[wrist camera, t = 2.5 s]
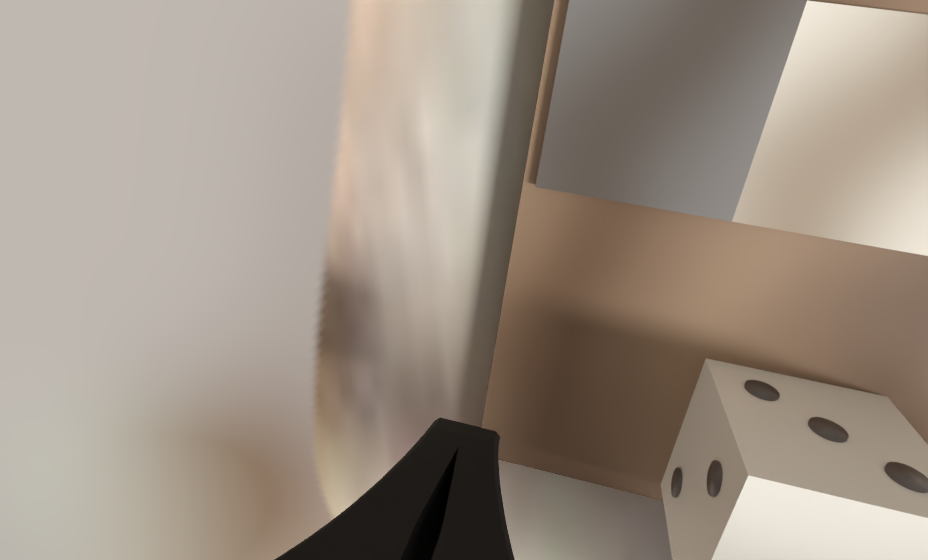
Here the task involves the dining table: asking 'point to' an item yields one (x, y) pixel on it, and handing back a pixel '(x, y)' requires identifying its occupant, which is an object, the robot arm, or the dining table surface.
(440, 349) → the dining table surface
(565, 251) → the board
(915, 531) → the die
